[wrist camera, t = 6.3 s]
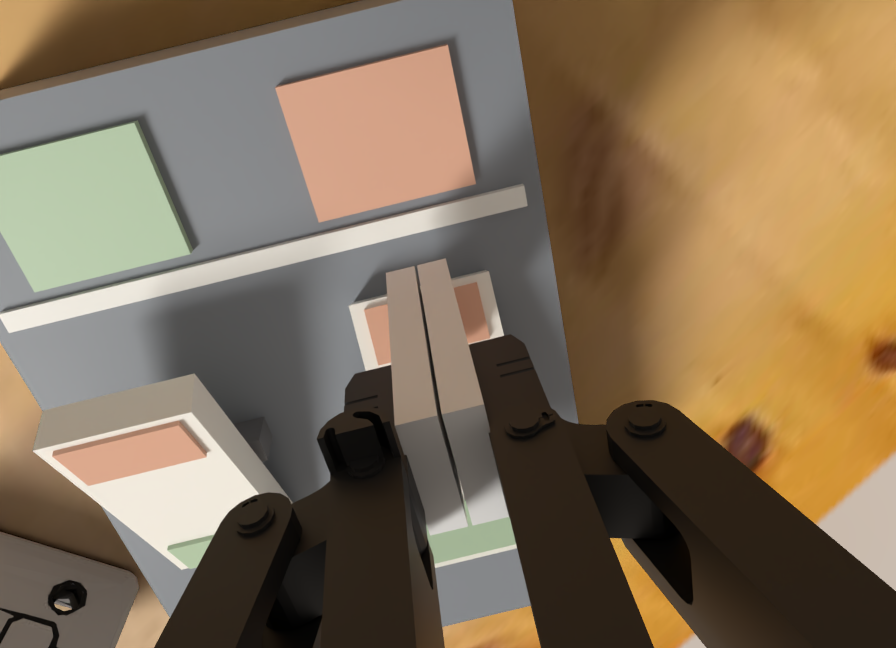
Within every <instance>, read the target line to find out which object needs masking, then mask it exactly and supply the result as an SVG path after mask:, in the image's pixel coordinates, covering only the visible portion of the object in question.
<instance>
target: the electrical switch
mask: <svg viewBox="0 0 896 648" xmlns="http://www.w3.org/2000/svg"><path fill="white" fill-rule="evenodd" d="M138 590H139V585H138V580H137V577H136V576H135V575H134V574H132V573H131V572H130V571H127V570H124V569H121V568H117V567H114V566H111V565H108V564H104V563H101V562H98V561H95V560H91V559H88V558H85V557H81V556H78V555H75V554H72V553H68V552H65V551H62V550H59V549H55V548H52V547H49V546H46V545H42V544H39V543H36V542H32V541H29V540H26V539H23V538H19V537H16V536H13V535H10V534H6V533H3V532H0V648H115V647H116V644H117V642H118V639H119V637H120V634H121V632H122V629H123V627H124V624H125V622H126V619H127V617H128V614H129V612H130V610H131V607H132V605H133V602H134V600H135V597H136V595H137V592H138ZM54 604H58V605H62V606H65V607H69V608H72V610H68V611H62V610H60V609H57V608H56V607H55V605H54Z"/></svg>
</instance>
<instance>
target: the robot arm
mask: <svg viewBox="0 0 896 648" xmlns="http://www.w3.org/2000/svg"><path fill="white" fill-rule="evenodd" d="M417 268H418V274H419V280H420V285H419V281H418V278H417V274H416V270H415V266H412V267H408V268H404V269H400V270H396V271H392V272H388V273H386V284H387V301H388V318H389V336H390V353H391V365H388V366H384V367H380V368H376V369H372V370H368V371H364V372H360V373H355V374H354V376H353V377H352V379H351V380H350V382H349V383H348V385H347V386H346V388H345V400H344V404H345V406H344V412H342V413H340V414H338V415H337V416H335V417H333V418H332V419H330V420H329V421H328V422H327V423H326V424H325V425H324V426H323V427H322V428H321V429H320V431H319V434H318V437H317V442H318V444H319V447H320V449H321V452H322V454H323V457H324V459H325V462H326V464H327V467H328V469H329V472H330V481H329V482H328V483H327V484H326V485H324V486H323V487H322V488H321V489H319V490H317V491H316V492H314V493H312V494H311V495H309V496H306V497H304V498H302V499H300V500H298V501H296V502H294V503H292V504H291V502H290V500H289V498H287V497H286V496H284V495H282V494H281V493H271V492H268V493H263V494H258V495H254V496H252V497H250V498H248V499H246V500H244V501H242V502H240V503H239V504H238V505H236V506H235V507H234V508H233V509H231V510H230V511H229V512H228V514H227V515H226V516H225V518H224V519H223V520H222V521H221V523H220V525H219V527H218V529H217V531H216V532H215V534H214V536H213V538H212V540H211V542H210V544H209V546H208V547H207V549H206V551H205V553H204V555H203V557H202V559H201V561H200V562H199V564H198V566H197V568H196V570H195V572H194V574H193V576H192V578H191V579H190V581H189V583H188V585H187V587H186V589H185V591H184V593H183V594H182V596H181V598H180V600H179V602H178V604H177V606H176V608H175V609H174V611H173V613H172V615H171V617H170V619H169V621H168V623H167V624H166V626H165V628H164V630H163V632H162V634H161V636H160V638H159V639H158V641H157V643H156V645H155V647H154V648H445V646H444V638H443V630H442V622H441V614H440V605H439V597H438V589H437V581H436V573H435V564H434V556H433V553H432V550H431V547H430V544H429V541H428V538H427V528H426V524H427V527H428V531H429V534H430V536H431V535H435V534H439V533H443V532H448V531H452V530H456V529H460V528H464V527H468V522H467V516H466V511H465V505H464V499H463V494H462V489H463V493H464V497H465V500H466V504H467V507H468V511H469V515H470V518H471V522H472V525H477V524H481V523H486V522H490V521H494V520H498V519H502V518H506V517H509V518H510V521H511V525H512V529H513V533H514V538H515V542H516V546H517V550H518V554H519V559H520V563H521V567H522V571H523V575H524V579H525V583H526V587H527V592H528V596H529V600H530V604H531V608H532V612H533V616H534V621H535V625H536V629H537V633H538V637H539V641H540V645H541V648H654V647H653V644H652V642H651V639H650V637H649V634H648V632H647V629H646V627H645V624H644V622H643V619H642V617H641V614H640V612H639V609H638V607H637V604H636V602H635V600H634V597H633V595H632V592H631V590H630V587H629V585H628V582H627V580H626V577H625V575H624V572H623V570H622V567H621V565H620V562H619V560H618V557H617V555H616V553H615V550H614V548H613V545H612V543H611V540H610V538H621V539H622V541H623V543H624V545H625V547H626V548H627V549H628V550H629V552H630V553H631V554H632V555H633V557H634V558H635V559H636V560H637V562H638V563H639V564H640V565H641V567H642V568H643V569H644V570H645V572H646V573H647V574H648V575H649V577H650V578H651V579H652V580H653V582H654V583H655V584H656V585H657V587H658V588H659V589H660V590H661V592H662V593H663V594H664V595H665V597H666V598H667V599H668V600H669V601H670V603H671V604H672V605H673V606H674V608H675V609H676V610H677V611H678V613H679V614H680V615H681V616H682V618H683V619H684V620H685V621H686V623H687V624H688V625H689V626H690V628H691V629H692V630H693V631H694V633H695V634H696V635H697V636H698V638H699V639H700V640H701V641H702V643H703V644H704V645H705V646H706V647H707V648H896V591H895V590H894V589H892V588H891V587H890V586H889V585H888V584H886V583H885V582H884V581H883V580H882V579H880V578H879V577H878V576H877V575H876V574H874V573H873V572H872V571H871V570H870V569H868V568H867V567H866V566H865V565H864V564H862V563H861V562H860V561H859V560H858V559H856V558H855V557H854V556H853V555H852V554H850V553H849V552H848V551H847V550H846V549H844V548H843V547H842V546H841V545H840V544H838V543H837V542H836V541H835V540H834V539H832V538H831V537H830V536H829V535H828V534H826V533H825V532H824V531H823V530H822V529H820V528H819V527H818V526H817V525H816V524H814V523H813V522H812V521H811V520H810V519H808V518H807V517H806V516H805V515H804V514H802V513H801V512H800V511H799V510H798V509H797V508H795V507H794V506H793V505H792V504H791V503H789V502H788V501H787V500H786V499H785V498H783V497H782V496H781V495H780V494H779V493H777V492H776V491H775V490H774V489H773V488H771V487H770V486H769V485H768V484H767V483H765V482H764V481H763V480H762V479H761V478H759V477H758V476H757V475H756V474H755V473H753V472H752V471H751V470H750V469H749V468H747V467H746V466H745V465H744V464H743V463H741V462H740V461H739V460H738V459H737V458H735V457H734V456H733V455H732V454H731V453H729V452H728V451H727V450H726V449H725V448H723V447H722V446H721V445H720V444H719V443H717V442H716V441H715V440H714V439H713V438H711V437H710V436H709V435H708V434H707V433H705V432H704V431H703V430H702V429H701V428H699V427H698V426H697V425H696V424H695V423H693V422H692V421H691V420H690V419H689V418H687V417H686V416H685V415H684V414H683V413H681V412H680V411H679V410H678V409H676V408H674V407H672V406H671V405H669V404H667V403H662V402H658V401H653V400H647V401H635V402H631V403H627V404H624V405H622V406H621V407H619V408H617V409H616V410H614V411H613V412H612V413H611V415H610V416H609V417H608V419H607V424H606V425H582V424H576V423H572V422H568V421H566V420H564V419H562V418H561V417H560V416H559V415H558V413H557V412H556V411H555V410H553V409H552V408H551V407H550V404H549V402H548V400H547V397H546V395H545V392H544V390H543V387H542V385H541V382H540V380H539V378H538V375H537V373H536V370H535V369H534V365H533V363H532V360H531V359H530V356H529V353H528V351H527V348H526V346H525V343H523V342H522V341H520V340H519V339H517V338H516V337H514V336H513V335H511V334H509V335H505V336H501V337H497V338H493V339H489V340H484V341H480V342H476V343H472V344H468V341H467V337H466V334H465V330H464V326H463V322H462V319H461V315H460V311H459V307H458V303H457V300H456V296H455V292H454V288H453V284H452V281H451V277H450V273H449V269H448V265H447V262H446V258H445V259H441V260H437V261H433V262H429V263H424V264H420V265H417ZM420 286H421V289H420ZM421 292H422V293H421ZM461 486H462V488H461Z"/></svg>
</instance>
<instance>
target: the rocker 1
mask: <svg viewBox="0 0 896 648" xmlns="http://www.w3.org/2000/svg"><path fill="white" fill-rule="evenodd" d="M32 451H33V452H34V453H36V454H37V455H38V456H39V457H41V458H42V459H43V460H44V461H46V462H47V463H48V464H49V465H51V466H52V467H53V468H55V469H56V470H57V471H58V472H60V473H61V474H62V475H63V476H65V477H66V478H67V479H68V480H70V481H71V482H72V483H73V484H75V485H76V486H77V487H78V488H80V489H81V490H82V491H83V492H85V493H86V494H87V495H88V496H90V497H91V498H92V499H93V500H95V501H96V502H97V503H98V504H100V505H101V506H102V507H103V508H105V509H106V510H107V511H108V512H110V513H111V514H112V515H113V516H115V517H116V518H117V519H118V520H120V521H121V522H122V523H123V524H125V525H126V526H127V527H129V528H130V529H131V530H132V531H134V532H135V533H136V534H137V535H139V536H140V537H141V538H142V539H144V540H145V541H146V542H147V543H149V544H150V545H151V546H152V547H154V548H155V549H156V550H157V551H159V552H160V553H161V554H162V555H164V556H165V557H166V558H167V559H169V560H170V561H171V562H172V563H174V564H175V565H176V566H177V567H179V568H180V569H181V570H183V569H187V568H189V569H193V568H197V566H198V564H199V562H200V561H201V559H202V557H203V555H204V553H205V551H206V549H207V547H208V546H209V544H210V542H211V540H212V538H213V536H214V534H215V532H216V531H217V529H218V527H219V525H220V523H221V521H222V520H223V519H224V518H225V516H226V515H227V514H228V512H229V511H230V510H231V509H233V508H234V507H235V506H236V505H238V504H239V503H240V502H242V501H244V500H246V499H248V498H250V497H252V496H254V495H258V494H263V493H268V492H271V493H281V494H282V495H284V496H286V497H287V498H289V497H288V496H287V494H286V493H285V492H284V490H283V489H282V488H281V486H280V485H279V484H278V482H277V481H276V480H275V479H274V477H273V476H272V475H271V473H270V472H269V471H268V469H267V468H266V467H265V465H264V464H263V463H262V461H261V460H260V459H259V458H258V456H257V455H256V454H255V452H254V451H253V450H252V448H251V447H250V446H249V444H248V443H247V442H246V440H245V439H244V438H243V436H242V435H241V434H240V433H239V431H238V430H237V429H236V427H235V426H234V425H233V423H232V422H231V421H230V419H229V418H228V417H227V415H226V414H225V413H224V411H223V410H222V409H221V408H220V406H219V405H218V404H217V402H216V401H215V400H214V398H213V397H212V396H211V394H210V393H209V392H208V390H207V389H206V388H205V387H204V385H203V384H202V383H201V381H200V380H199V379H198V377H197V376H196V375H195V373H194V374H190V375H186V376H182V377H178V378H174V379H170V380H166V381H162V382H158V383H153V384H149V385H145V386H141V387H137V388H133V389H129V390H125V391H121V392H117V393H112V394H108V395H104V396H100V397H96V398H92V399H88V400H84V401H80V402H76V403H72V404H67V405H63V406H59V407H55V408H51V409H47V410H43V411H42V415H41V419H40V423H39V427H38V431H37V435H36V439H35V443H34V446H33V450H32ZM289 500H290V498H289ZM290 502H291V504H292V503H293V502H292V501H291V500H290Z"/></svg>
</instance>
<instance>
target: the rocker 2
mask: <svg viewBox="0 0 896 648" xmlns="http://www.w3.org/2000/svg"><path fill="white" fill-rule="evenodd" d="M451 281H452V284H453V288H454V292H455V296H456V300H457V303H458V307H459V311H460V315H461V319H462V322H463V326H464V330H465V334H466V337H467V341H468V344H472V343H476V342H480V341H484V340H489V339H493V338H497V337H501V336H504V333H503V329H502V325H501V321H500V316H499V312H498V308H497V304H496V299H495V295H494V291H493V287H492V282H491V278H490V274H489V271H487V270H483V271H479V272H475V273H471V274H467V275H463V276H459V277H455V278H451ZM420 289H421V286H420ZM421 293H422V292H421ZM349 309H350V313H351V317H352V321H353V324H354V328H355V332H356V336H357V340H358V344H359V347H360V351H361V355H362V359H363V363H364V367H365V370H366V371H368V370H372V369H376V368H380V367H384V366H388V365H391V353H390V336H389V318H388V301H387V294H385V295H381V296H377V297H373V298H369V299H365V300H361V301H357V302H353V303H352V304H350V305H349ZM461 488H462V486H461ZM462 494H463V499H464V505H465V511H466V516H467V522H468V527H464V528H460V529H456V530H452V531H448V532H443V533H439V534H435V535H431V536H430V534H429V531H428V527H427V524H426V528H427V538H428V541H429V544H430V547H431V550H432V553H433V556H434V564H435V568H437V567H442V566H446V565H450V564H454V563H458V562H462V561H466V560H471V559H475V558H479V557H483V556H487V555H491V554H496V553H500V552H504V551H508V550H512V549H516V548H517V546H516V542H515V538H514V533H513V529H512V525H511V521H510V518H509V517H506V518H502V519H498V520H494V521H490V522H486V523H481V524H477V525H472V522H471V518H470V515H469V511H468V507H467V504H466V500H465V497H464V493H463V489H462Z"/></svg>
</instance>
